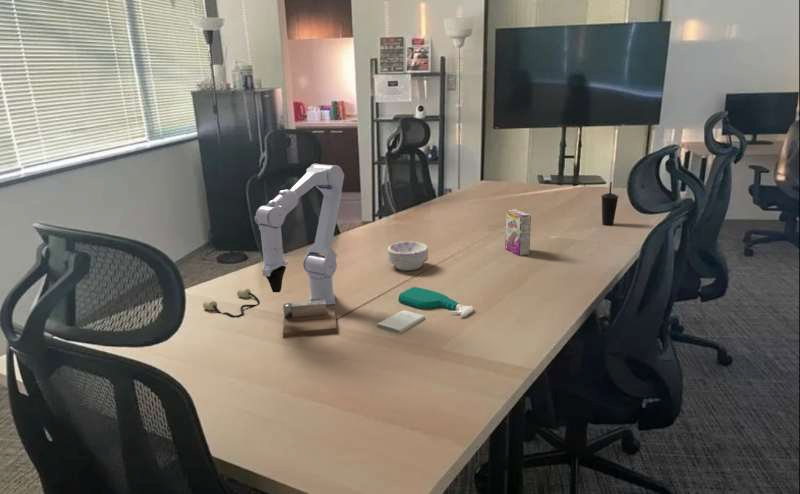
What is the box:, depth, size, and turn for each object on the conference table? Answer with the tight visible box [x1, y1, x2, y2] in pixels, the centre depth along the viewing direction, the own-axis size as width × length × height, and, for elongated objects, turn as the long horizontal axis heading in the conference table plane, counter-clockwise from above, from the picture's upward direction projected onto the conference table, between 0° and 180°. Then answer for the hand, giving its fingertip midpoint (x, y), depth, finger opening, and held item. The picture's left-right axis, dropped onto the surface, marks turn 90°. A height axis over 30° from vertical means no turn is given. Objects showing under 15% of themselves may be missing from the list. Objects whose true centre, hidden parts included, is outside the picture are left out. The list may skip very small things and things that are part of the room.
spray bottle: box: [398, 286, 474, 318], centre depth 176 cm, size 3×11×24 cm
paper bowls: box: [387, 241, 429, 271], centre depth 212 cm, size 15×15×8 cm
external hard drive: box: [376, 309, 426, 334], centre depth 164 cm, size 2×8×12 cm
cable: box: [202, 287, 261, 318], centre depth 180 cm, size 16×16×4 cm
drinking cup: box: [600, 181, 619, 227], centre depth 262 cm, size 8×8×20 cm
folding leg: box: [282, 300, 327, 318], centre depth 167 cm, size 12×3×4 cm, turn 99°
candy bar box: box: [504, 208, 532, 257], centre depth 225 cm, size 11×5×16 cm, turn 22°
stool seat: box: [282, 298, 338, 339], centre depth 164 cm, size 15×15×5 cm
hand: (276, 291), depth 165 cm, fingers closed
